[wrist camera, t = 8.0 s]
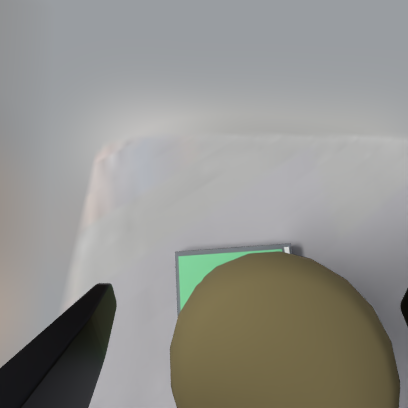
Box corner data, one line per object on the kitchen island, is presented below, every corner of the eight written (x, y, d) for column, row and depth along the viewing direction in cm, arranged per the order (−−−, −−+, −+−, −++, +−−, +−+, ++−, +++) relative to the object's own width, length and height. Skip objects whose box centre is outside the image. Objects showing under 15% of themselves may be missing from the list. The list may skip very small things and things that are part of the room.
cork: (298, 264, 16) (443, 236, 6) (298, 380, 15) (493, 631, 4) (196, 255, 17) (156, 214, 6) (185, 366, 15) (108, 563, 5)
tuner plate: (305, 373, 16) (311, 378, 15) (182, 380, 16) (179, 386, 15) (287, 244, 18) (291, 243, 17) (176, 252, 18) (174, 251, 17)
